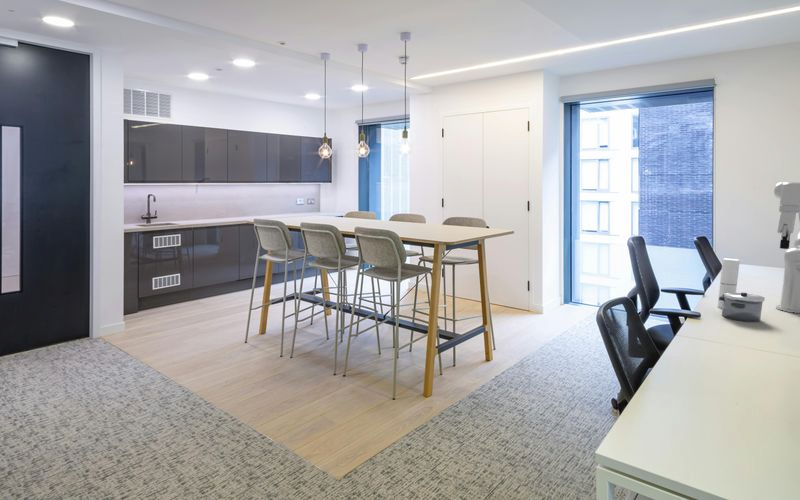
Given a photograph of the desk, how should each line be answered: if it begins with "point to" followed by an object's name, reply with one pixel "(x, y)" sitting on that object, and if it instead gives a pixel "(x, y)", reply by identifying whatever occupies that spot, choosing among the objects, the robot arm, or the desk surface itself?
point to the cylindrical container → (728, 277)
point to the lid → (744, 297)
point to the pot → (741, 310)
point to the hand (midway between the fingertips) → (784, 248)
